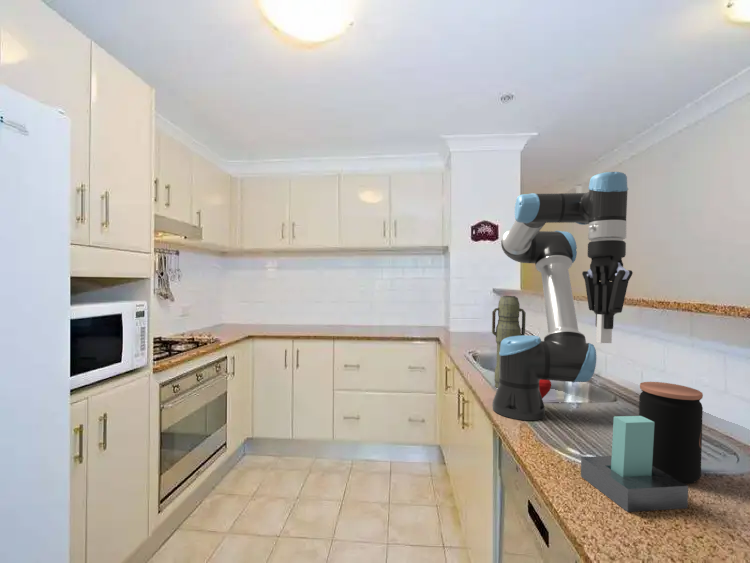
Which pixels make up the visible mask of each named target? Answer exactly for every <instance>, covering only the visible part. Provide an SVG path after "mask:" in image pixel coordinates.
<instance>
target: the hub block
mask: <svg viewBox="0 0 750 563" xmlns="http://www.w3.org/2000/svg"><path fill="white" fill-rule="evenodd" d="M580 459H581V460H580V461H581V462H580V478H582V479H583V480H585V481H586V482H587V483H588V484H590V485H592V487H594V488H595V489H597V490H598V491H599V492H601V493H602V494H603V495H604V496H606V497H607V498H608V499H610V500H611V501H613V502H614V503H615V504H616V505H617V506H619V507H621V509H622V510H624V511H625V512H626V513H633V512H647V511H648V512H649V511H664V510H665V511H666V510H667V511H668V510H680V509H681V510H682V509H688V507H689V484H684V483H682V482H680V481H679V480H677V479H675V478H673V477H672V476H670V475H668V474H666V473H665V472H663V471H661V470H659V469H657V468H656V467H654V466H652V476H638V477H622V476H620V475H619V474H617V473H616V472H614V471H613V470H611V459H612V455H599V456H598V455H595V456H581V458H580Z"/></svg>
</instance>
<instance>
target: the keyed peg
mask: <svg viewBox="0 0 750 563" xmlns="http://www.w3.org/2000/svg"><path fill="white" fill-rule="evenodd" d="M612 421H613V422H612V423H613V426H612V442H611V444H612V445H611V456H612V459H611V470H613V471H614V472H616V473H617V474H619V475H620V476H622V477H638V476H652V460H653V441H654V423H655V422H653V421H651V420H649V419H647V418H645V417H643V416H639V415H625V416H624V415H621V416H620V415H619V416H617V415H616V416H613V420H612Z"/></svg>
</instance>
